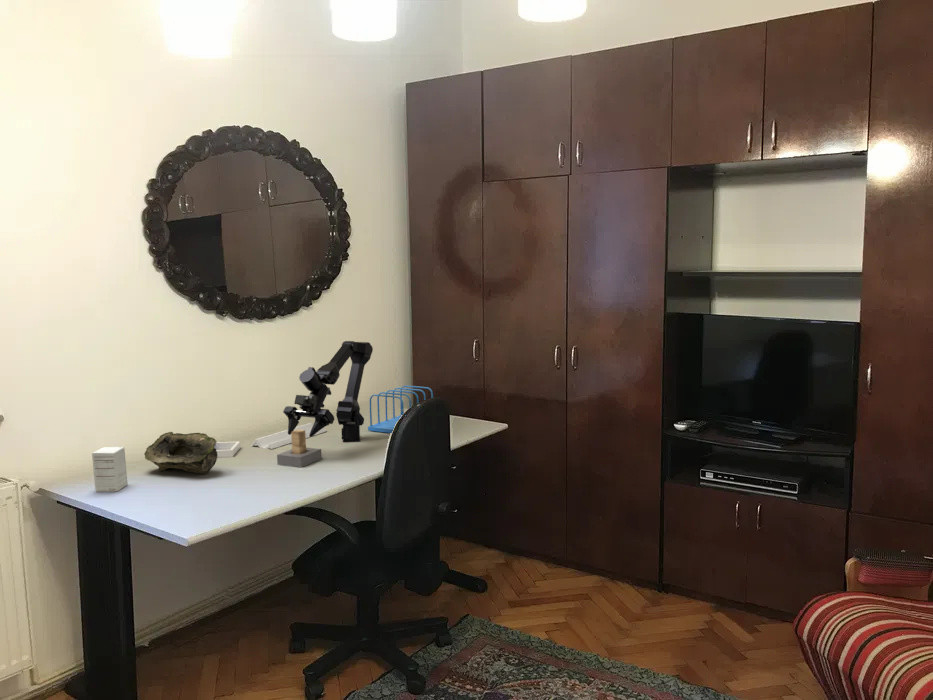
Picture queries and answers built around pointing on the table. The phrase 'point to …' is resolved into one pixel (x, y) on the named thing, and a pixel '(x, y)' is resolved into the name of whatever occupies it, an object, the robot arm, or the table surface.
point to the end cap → (299, 457)
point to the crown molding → (282, 437)
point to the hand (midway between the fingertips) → (299, 435)
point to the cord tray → (227, 445)
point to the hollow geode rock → (183, 452)
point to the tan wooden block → (298, 441)
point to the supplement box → (109, 469)
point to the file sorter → (390, 423)
